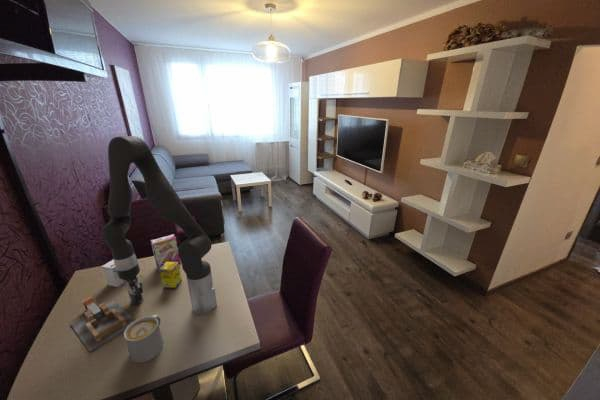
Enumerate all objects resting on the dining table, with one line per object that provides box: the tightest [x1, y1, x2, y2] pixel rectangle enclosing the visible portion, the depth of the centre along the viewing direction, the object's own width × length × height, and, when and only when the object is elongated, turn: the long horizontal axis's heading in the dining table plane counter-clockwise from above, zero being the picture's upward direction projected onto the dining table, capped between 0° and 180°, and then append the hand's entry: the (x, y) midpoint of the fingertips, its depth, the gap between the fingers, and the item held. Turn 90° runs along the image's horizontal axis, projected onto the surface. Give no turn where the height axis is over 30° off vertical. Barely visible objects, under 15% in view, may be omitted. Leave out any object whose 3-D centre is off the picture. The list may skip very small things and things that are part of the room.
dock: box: [70, 300, 136, 352], centre depth 96 cm, size 20×15×4 cm
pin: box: [81, 295, 103, 320], centre depth 100 cm, size 11×3×4 cm, turn 56°
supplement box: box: [159, 262, 182, 290], centre depth 116 cm, size 6×6×11 cm
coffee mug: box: [123, 314, 164, 364], centre depth 87 cm, size 13×10×10 cm
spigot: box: [125, 284, 144, 307], centre depth 105 cm, size 4×4×11 cm
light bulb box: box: [101, 259, 124, 288], centre depth 119 cm, size 11×7×11 cm, turn 165°
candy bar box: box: [150, 233, 182, 272], centre depth 129 cm, size 11×5×16 cm, turn 130°
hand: (136, 297), depth 107 cm, fingers closed on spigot, 4 cm apart
